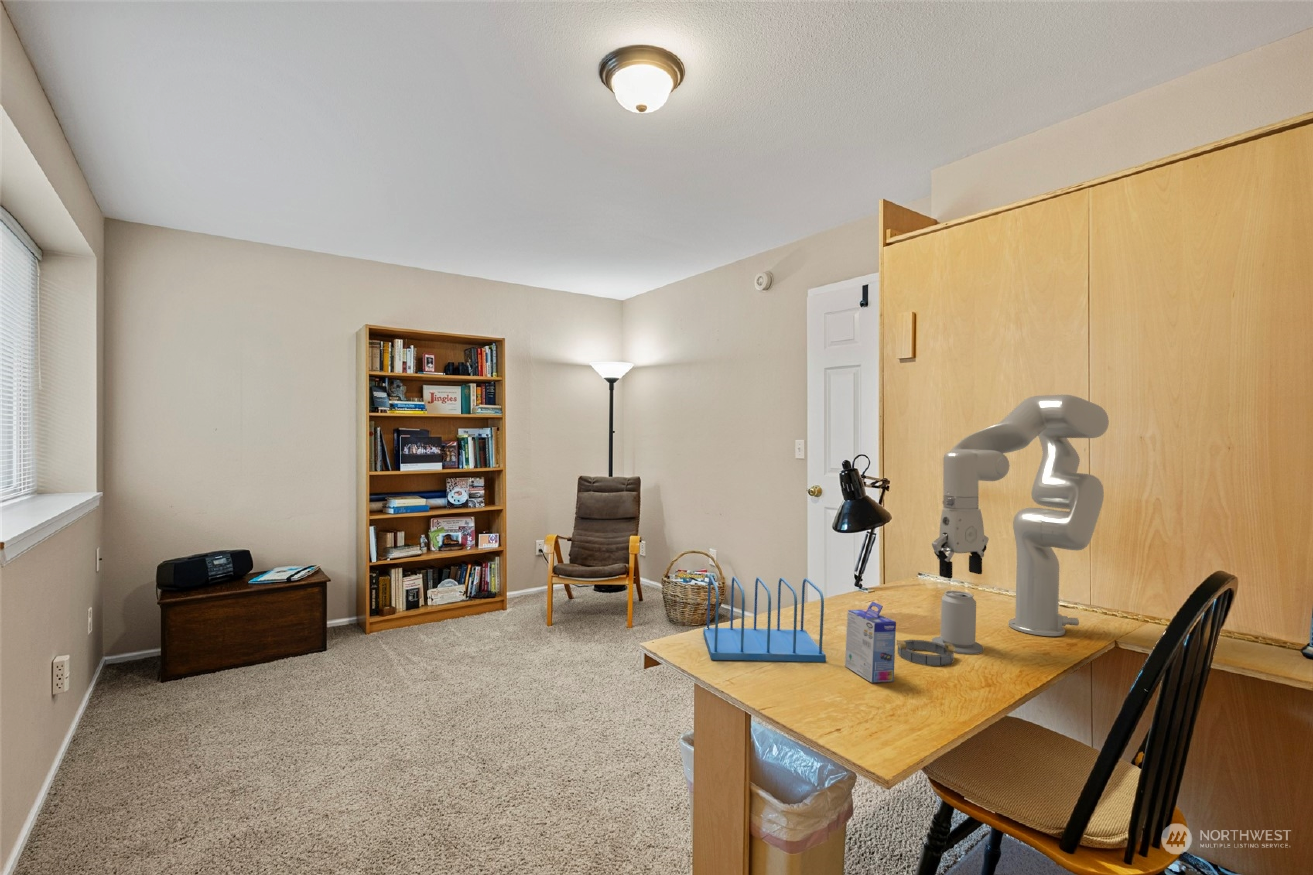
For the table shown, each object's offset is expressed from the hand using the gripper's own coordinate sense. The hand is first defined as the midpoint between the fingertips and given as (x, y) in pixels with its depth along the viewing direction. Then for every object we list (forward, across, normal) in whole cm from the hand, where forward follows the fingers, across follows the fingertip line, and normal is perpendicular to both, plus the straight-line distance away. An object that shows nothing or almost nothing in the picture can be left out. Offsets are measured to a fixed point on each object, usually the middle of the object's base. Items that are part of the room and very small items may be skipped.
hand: (960, 575), depth 148 cm
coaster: (+17, -1, 0) cm, 17 cm away
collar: (+16, -14, -3) cm, 22 cm away
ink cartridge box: (+16, -34, -7) cm, 38 cm away
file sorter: (+16, -46, +15) cm, 51 cm away
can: (+16, -1, 0) cm, 16 cm away
